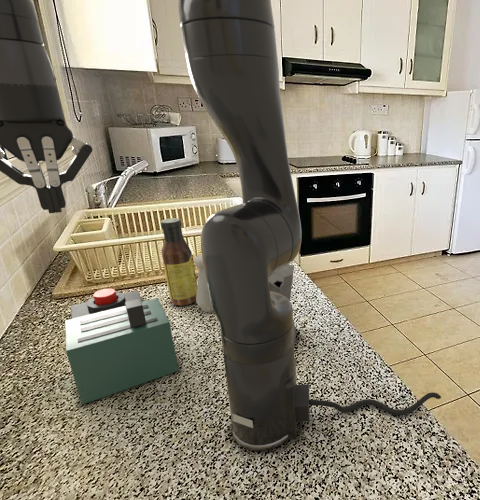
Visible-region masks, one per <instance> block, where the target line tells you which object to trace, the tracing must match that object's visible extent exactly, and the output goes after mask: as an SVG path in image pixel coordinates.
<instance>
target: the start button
mask: <svg viewBox="0 0 480 500" xmlns="http://www.w3.org/2000/svg"><path fill="white" fill-rule="evenodd" d="M116 292H117V291H116V289H114V288H103V289H99V290H97V291H95V292H94V293H93V297H94V300H95V304H96V305H106V304H110V303H112V302H114V301H116V300H117V296H116Z"/></svg>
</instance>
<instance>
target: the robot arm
mask: <svg viewBox="0 0 480 500" xmlns="http://www.w3.org/2000/svg"><path fill="white" fill-rule="evenodd" d="M177 3H178V4H177V6H178V18H179V26H180V33H181V38H182V44H183V49H184V56H185V61H186V66H187V71H188V75H189V79H190V82H191V85H192V87H193V89H194V92H195V94H196V95H197V98H198V99H199V101H200V103H201V105H202V106H203V108H204V109H205V111H206V113H207V114H208V116H209V117H210V119H211V120H212V121H213V123H214V125H215V126H216V128H217V129H218V130H219V132H220V133H221V135H222V137H223V138H224V139H225V141H226V143H227V144H228V146H229V148H230V150H231V152H232V154H233V158H234V161H235V163H236V167H237V170H238V175H239V181H240V186H241V195H242V203H240V204H236V205H234V206H230V207H227V208H223V209H221V210H218V211H215V212H214V213H212V214H210V215H209V216H208V217H207V218H206V220H205V221H204V223H203V225H202V229H201V233H200V234H201V235H200V253H201V254H202V259H203V264H204V269H205V274H206V279H207V285H208V290H209V295H210V301H211V304H212V307H213V310H214V311H213V312H214V314H215V316H216V318H217V321H218V323H219V329H220V337H221V344H222V353H223V364H224V370H225V380H226V387H227V394H228V404H229V411H230V422H231V433H232V437H233V439H234V441H235V442H236V443H237V444H238V445H239V446H241V447H242V448H244V449H246V450H249V451H254V452H255V451H257V452H263V451H268V450H273V449H275V448H278V447H280V446H281V445H283V444H285V443H286V442H287V441H290V440H295V439H297V432H298V423H305V422H306V423H307V422H310V406H317V407H328V408H332V409H335V410H336V411H338V412H341V413H348V412H351V411H354V410H356V409H358V408H360V407H362V406H366V405H367V406H368V405H369V406H375V407H377V408H379V409H380V410H382V411H384V412H386V413H388V414H390V415H394V416H405V415H408V414H410V413H412V412H414V411H416V410H417V409H418V408H420V407H421V406H423V404H424V403H425V402H427V401H428V400H429V399H431V398H433V399H436V400H440V399H442V396H441V395H440V394H439V393H437V392H433V391H432V392H428V393H426V394H424V395H423V396H422V397H420V399H419V400H418V401H416V402H415V403H414V404H412V405H410V406H409V407H406V408H403V409H395V408H392V407H390V406H387V405H386V404H384V403H382V402H381V401H378V400H375V399H372V398H371V399H369V398H368V399H361V400H357V401H356V402H353V403H352V404H350V405H347V406H342V405H340V404H339V403H338V402H334V401H330V400H321V399H310V384H309V383H303V384H298V383H297V382H298V381H297V359H296V357H295V342H294V332H293V320H294V309H293V304H292V301H291V300H290V301H289V299H288V298H287V297H286V296H284V295H282V294H280V293H277V292H273V291H270V289H269V279H268V276H270V275H272V274H273V273H275V272H277V271H278V270H280V269H282V268H283V267H285V266H286V265H288V264H291V263H292V262H293V261H294V260H295V259H296V258H297V256H298V254H299V252H300V250H301V245H302V238H303V236H302V235H303V234H302V233H303V231H302V223H301V218H300V217H301V215H300V212H299V206H298V202H297V196H296V192H295V187H294V183H293V178H292V173H291V168H290V166H291V165H290V162H289V161H290V160H289V155H288V147H287V138H286V129H285V122H284V114H283V105H282V98H281V96H282V95H281V86H280V85H281V84H280V70H279V58H278V57H279V56H278V49H277V48H278V47H277V38H276V30H275V28H276V27H275V21H274V15H273V14H274V13H273V7H272V0H178V1H177ZM70 145H72V149H71V152H72V154H74V157H73V158H72V160H71V162H70V163H69V165H68V166H67V167H66V169H65V170H64V171H63V172H60V169H59V163H58V161H59V160H61V159H62V158H63V157H64V155H65V153H66V152H67V150H68V149H69V146H70ZM1 147H2V148H4V150H6V151H7V152H8V153H10V154H11V155H13V157H15V158H16V159H17V160H19V161H21V162H24V163H25V166H26V168H27V171H28V172H29V174H26V172H24V171H22V170H21V169H20V168H18V167H17V166H15V165H14V164H13V163H11V162H10V161H9V160H7V159H5V158H4V157H5V152H4V151H3V150H2V148H1ZM93 150H94V149H93V146H92V145H91V144H89V143H86V142H84V141H82V140H80V139H78V138H76V137H75V136H74V134H73V132H72V130H71V129H70V128H69V127H68V125H67V122H66V118H65V114H64V110H63V106H62V101H61V98H60V94H59V91H58V85H57V79H56V75H55V73H54V70H53V66H52V63H51V60H50V57H49V55H48V52H47V49H46V47H45V43H44V37H43V34H42V30H41V26H40V23H39V17H38V14H37V11H36V7H35V4H34V3H33V1H32V0H0V172H1V173H2V174H4V175H5V176H6V177H8V178H9V179H11V180H12V181H14V182H15V183H17V184H18V185H23V186H28V187H29V186H30V187H33V188H34V189H35V191H36V194H37V197H38V201H39V204H40V207H41V208H42V210H43V211H48V213H49V214H57V213H62V212H63V210H62V209H65V208H66V205H67V204H66V199H65V195H64V192H63V188H62V187H63V185H64V184H65V183H68V182H73V181H74V180H75V178H76V177H77V175H78V174H79V172H80V171H81V169H82V168H83V166H84V164H85V163H86V162H87V160H88V159H89V157H90V156H91V154H92V152H93ZM40 162H45V166H46V172H47V176H48V183H49V185H47V180H46V178H45V175H44V172H43V169H42V167H41V163H40Z"/></svg>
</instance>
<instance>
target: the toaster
mask: <svg viewBox="0 0 480 500" xmlns="http://www.w3.org/2000/svg"><path fill="white" fill-rule="evenodd" d="M141 303H142V305H143V310H144V314H145V319H146V324H144V325H140V326H137V327H133V328H131V326H130V323H129V319H128V315H127V310H126V306H122V307H118V308H114V309H110V310H106V311H102V312H98V313H94V314H90V315H85V316H81V317H77V318H73V319H71V318H70V319H65V320H64V331H65V332H64V333H65V334H64V335H65V336H64V337H65V353H66V356H67V360H68V363H69V366H70V370H71V373H72V376H73V379H74V382H75V386H76V389H77V392H78V395H79V398H80V402H81V405H86V404H89V403H91V402H94V401H96V400H101V399H102V398H105V397H108V396H111V395H114V394H118V393H119V392H123V391H125V390H128V389H130V388H134V387H137V386H140V385H142V384H144V383H148V382H152V381H154V380H156V379H159V378H162V377H165V376H167V375H171V374H173V373H176V372H178V371H179V366H178V361H177V356H176V351H175V350H176V349H175V344H174V339H173V338H174V337H173V334H172V328H171V323H170V320H169V318H168V316H167V314H166V312H165V309H164V307H163V306H162V303H161V302H160V299H159V298H158V297H156V298H152V299H147V300H142V302H141Z"/></svg>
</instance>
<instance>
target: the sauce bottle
mask: <svg viewBox="0 0 480 500" xmlns="http://www.w3.org/2000/svg"><path fill="white" fill-rule="evenodd" d="M160 227H161V229H162V233H163V239H164V241H163V245H162V248H161V256H162V257H161V258H162V261H163V262H162V263H163V269H164V274H165V275H164V276H165V279H166V284H167V289H168V294H169V298H170V301H171V303H172V304H173V305H174V306H179V307H180V306H181V307H183V306H188V305H191V304H193V303H196V297H197V285H198V280H197V275H196V270H195V262H194V258H193V253H192V250H191V248H190V247H189V245H188V243H187V241H186V240H185V238H184V235H183V231H182V220H181V219H180V218H178V217H170V218H164V219H161V220H160Z"/></svg>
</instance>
